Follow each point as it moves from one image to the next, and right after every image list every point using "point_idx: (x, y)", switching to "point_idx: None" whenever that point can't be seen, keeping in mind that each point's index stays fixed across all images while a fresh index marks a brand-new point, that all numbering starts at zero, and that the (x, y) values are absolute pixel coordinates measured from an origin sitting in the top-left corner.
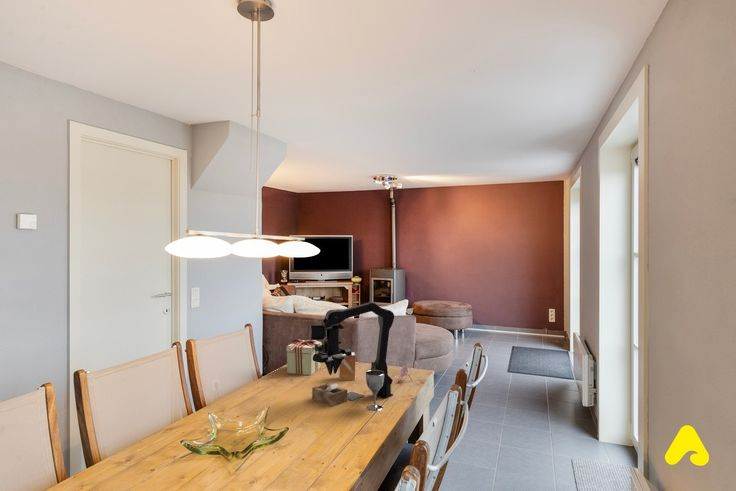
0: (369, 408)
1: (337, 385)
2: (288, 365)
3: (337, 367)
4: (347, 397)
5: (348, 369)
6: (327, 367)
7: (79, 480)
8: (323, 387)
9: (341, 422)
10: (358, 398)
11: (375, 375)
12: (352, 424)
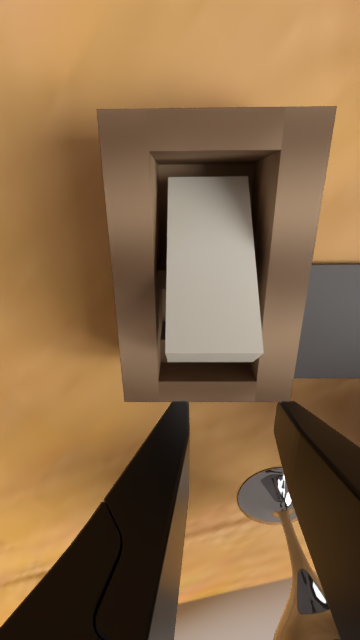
0: (249, 494)
1: (253, 359)
2: None
3: (327, 584)
4: (309, 326)
5: None
6: (100, 529)
7: None
8: (236, 153)
9: (51, 499)
10: (342, 375)
11: None
12: (76, 532)
